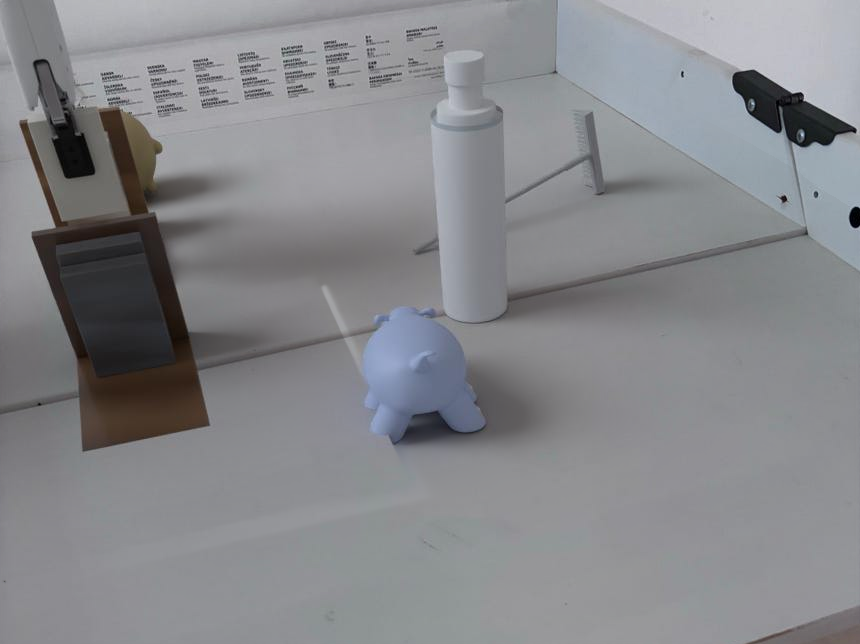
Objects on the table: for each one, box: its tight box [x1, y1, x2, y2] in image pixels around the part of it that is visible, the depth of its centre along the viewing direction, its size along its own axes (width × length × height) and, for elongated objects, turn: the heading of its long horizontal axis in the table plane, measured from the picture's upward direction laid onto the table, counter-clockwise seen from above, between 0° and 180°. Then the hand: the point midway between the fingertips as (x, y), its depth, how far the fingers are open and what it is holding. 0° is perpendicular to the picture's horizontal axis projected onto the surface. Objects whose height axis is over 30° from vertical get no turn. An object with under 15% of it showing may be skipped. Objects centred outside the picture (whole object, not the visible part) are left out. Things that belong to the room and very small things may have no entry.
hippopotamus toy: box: [362, 305, 487, 445], centre depth 85 cm, size 11×15×10 cm
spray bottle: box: [429, 49, 508, 324], centre depth 93 cm, size 7×7×25 cm
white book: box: [27, 105, 127, 221], centre depth 103 cm, size 2×7×10 cm, turn 108°
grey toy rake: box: [412, 107, 606, 255], centre depth 115 cm, size 4×28×9 cm, turn 124°
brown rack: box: [31, 211, 211, 453], centre depth 87 cm, size 18×11×13 cm, turn 18°
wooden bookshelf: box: [18, 106, 150, 228], centre depth 109 cm, size 18×11×13 cm, turn 18°
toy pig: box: [97, 106, 164, 194], centre depth 123 cm, size 10×12×11 cm
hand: (79, 169), depth 103 cm, fingers closed on white book, 2 cm apart
